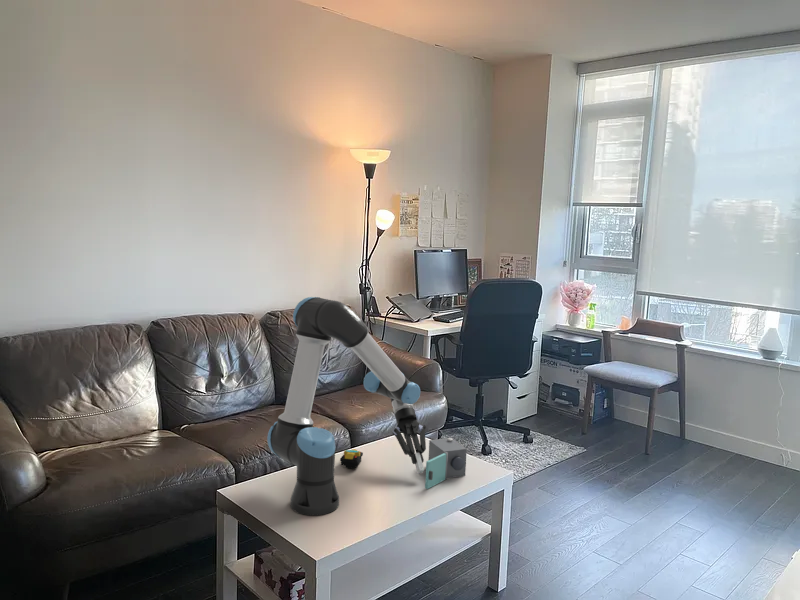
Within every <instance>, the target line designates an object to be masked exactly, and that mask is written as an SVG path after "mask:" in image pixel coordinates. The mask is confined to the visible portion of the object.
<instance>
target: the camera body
mask: <svg viewBox="0 0 800 600" xmlns="http://www.w3.org/2000/svg"><path fill="white" fill-rule="evenodd" d="M445 452H448V461H447V479H452V478H457V477H458V478H459V477H465V476H466V470H467V448H466V447H465V446H463V445H462V444H460V443H459V442H458V441H456V440H455V439H454V438H452V437H447V438H446V437H445V438H439V439H438V438H436V439H429V441H428V460H427V461H429V460H431V459H433V458H435V457H437V456H439V455H441V454H443V453H445Z"/></svg>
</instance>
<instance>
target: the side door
mask: <svg viewBox="0 0 800 600" xmlns="http://www.w3.org/2000/svg"><path fill="white" fill-rule="evenodd" d="M447 461H448V452H445V453H443V454H441V455H439V456H437V457H435V458H433V459H431V460H429V461H428V460H426V461H425V464H426V465H425V481H424V482H425V486H424V489H426V490H429V489H431V488H432V487H434V486H436V485H438V484H440V483H441V482H444V481H445V480H447V479H448V478H447Z"/></svg>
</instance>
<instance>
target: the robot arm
mask: <svg viewBox="0 0 800 600" xmlns="http://www.w3.org/2000/svg"><path fill="white" fill-rule="evenodd" d="M292 320H293V323H294V325H295V326H296V331H295V336H296V337H297V339H298V345H297V349H296V354H295V358H294V364H293V369H292V374H291V378H290V383H289V387H288V392H287V393H288V394H287V396H286V397H287V398H286V402H285V406H284V411H283V413H281V414H280V415H278V417H277V421H275V422H274V423H273V425H271V426H270V428H269V430H268V432H267V438H266V439H267V445H268V449H269V450H270V452H271V453H273V454H274V455H275V456H277V458H279V459H281V460H284V461H286V462H287V463H289V464H290V465H291V464H292V465H293V466H295V467H296V482H295V485H294V487H293V491H292V494H291V497H290V508H291V509H292V511H294V512H295V513H298V514H300V515H303V516H323V515H326V514H330V513H332V512H334V511H335V510H337V509H338V507H339V505H340V496H339V493H338V490H337V486H336V483H335V462H336V461H335V458H336V441H335V436H334V435H333V433H332V432H331V431H329V430H327V429H325V428H322V427H315V426H314V427H313V425H314V421H313V419H312V418H311V414H312V408H313V403H314V400H315V399H314V398H315V395H316V389H317V385H318V381H319V380H318V379H319V376H320V369H321V366H322V361H323V356H324V351H325V346H326V345H328V344H329V343H330V342H331V341H332V339H335V340H337V341H339V342H340V343H341V344H342V345H343V347H345V348H347V349H350V350H352V351H353V352H354V354H355V355H356V356H357V357H358V358H359V359H360V360H361V361H362V362H363V364H364V365H365V366H366V367H367V368H368V369H369V371H368V372H367V373H366V374H365V376H364V378H363V388H364V390H366V391H368V392H370V393H372V394H378V395H379V396H380V395H381V396H384V397H385V398H386V397H387V398H389V399H390V402H391V406H392V410H393V413H394V418H395V421H396V427H395V428H394V429H393V430H392V432H391V433H392V434H393V436H394V437H395V438H396V440H397V442H398V444H399V445H400V447H401V449H402V451H403V452H402V453H404V455H406V456H408V457H409V458H410V459H411V463H412V465H414V466H415V469H416V473H417V474H423V472H424V471H425V468H424V464H423V463H424V462H425V461H424V456H423V453H424V452H425V451H426V450H427V445H426V430H427V425H425V424H424V425H421V424H420V422H419V421H418V417H417V414H416V410H415V408H414V404H415V403H417V402H418V400H419V398H420V396H421V387H420V386H419V384H417V383H415V382H413V381H410V380H409V379H408V378H407V377H406V376H405V374H404V373H403V372H402V371H401V370H400V369H399V367H398V366H397V365H396V364H395V363H394V362H393V360H392V359H391V358H390V357H389V356H388V355H387V353H386V352H385V351H384V350H383V348H382V347H381V346H380V345H379V344H378V342H377V341H376V340H375V339H374V338H373V336H372V335H371V334H370V332H369V327H368V326H367V325H366V324H365V322H364V321H363V319H362V318H360V317H359V316H358V314H356V313H355V311H353V309H351V308H350V307H349V306H348V305H346V304H345V303H343V302H341V301H338V300H331V299H328V298H322V297H318V296H317V297H316V296H309V297H305V298H303V299H302V300H300V301H299V302H298V303H297V304H296V306H295V308H294V310H293V314H292ZM418 432H419V437H418ZM402 434H403V435H402Z"/></svg>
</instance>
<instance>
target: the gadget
mask: <svg viewBox="0 0 800 600" xmlns="http://www.w3.org/2000/svg"><path fill="white" fill-rule="evenodd" d="M362 456H364V452H362V451H360V450H358V449H356V448H354V449H353V448H352V449H345V450H344V451H343V454H342V456H341V457H340V458H339V461H340V466H343V467H345V468H346V469H355V468H357V467H358V466H360V464H361V462H362Z"/></svg>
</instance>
